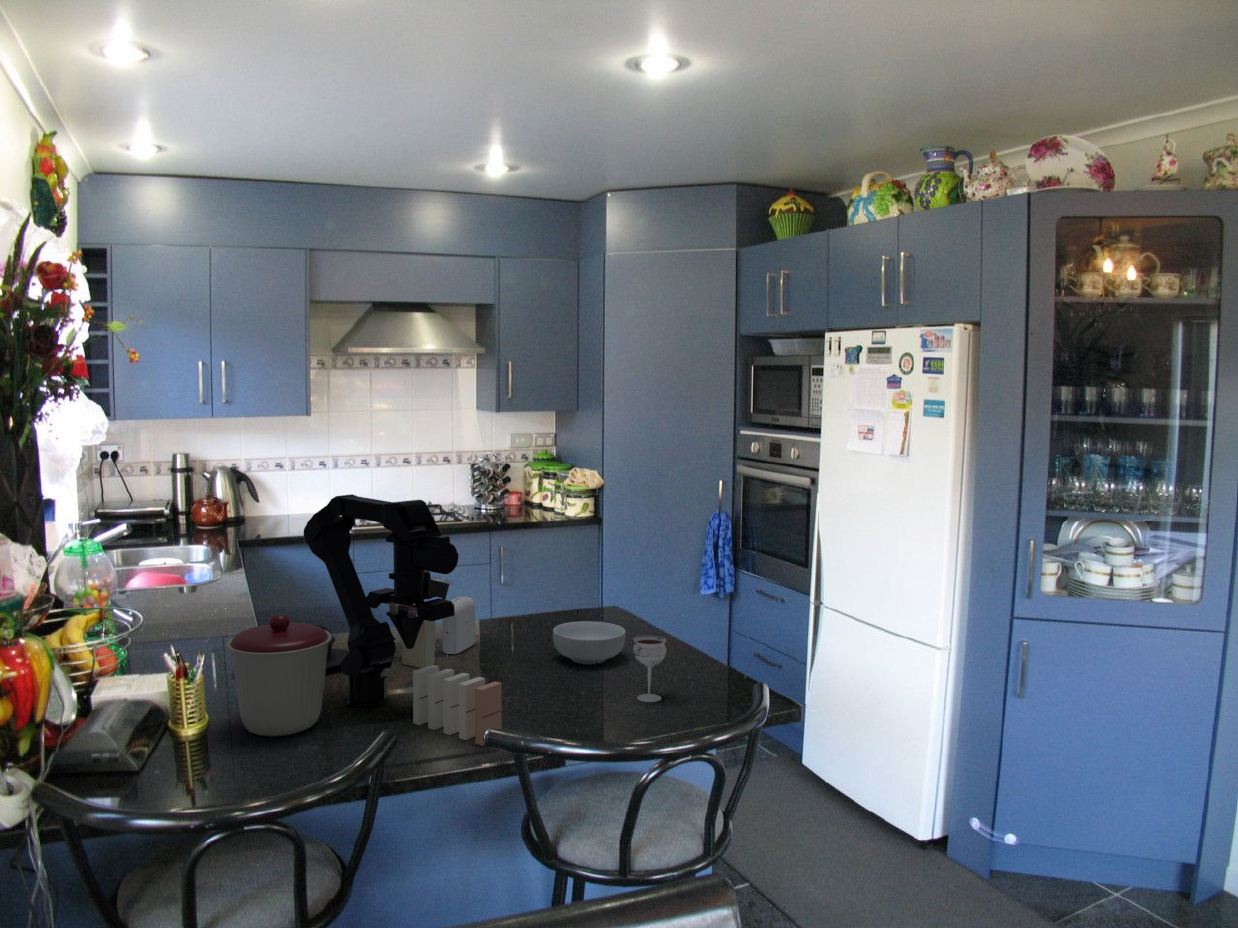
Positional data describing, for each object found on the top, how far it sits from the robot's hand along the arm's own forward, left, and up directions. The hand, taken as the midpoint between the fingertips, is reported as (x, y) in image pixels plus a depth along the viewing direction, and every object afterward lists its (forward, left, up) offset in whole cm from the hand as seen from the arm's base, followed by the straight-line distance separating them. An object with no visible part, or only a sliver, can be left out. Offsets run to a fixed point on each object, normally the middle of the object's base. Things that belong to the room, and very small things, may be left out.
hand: (410, 648), depth 181 cm
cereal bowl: (+33, +37, -13) cm, 51 cm away
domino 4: (+13, -10, -13) cm, 21 cm away
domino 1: (+3, -3, -13) cm, 14 cm away
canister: (-22, -7, -13) cm, 27 cm away
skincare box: (-5, +32, -13) cm, 35 cm away
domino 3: (+10, -7, -13) cm, 18 cm away
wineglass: (+46, +11, -13) cm, 49 cm away
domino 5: (+16, -12, -13) cm, 24 cm away
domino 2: (+7, -5, -13) cm, 15 cm away
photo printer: (+2, +44, -13) cm, 46 cm away
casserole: (-31, +27, -13) cm, 44 cm away
